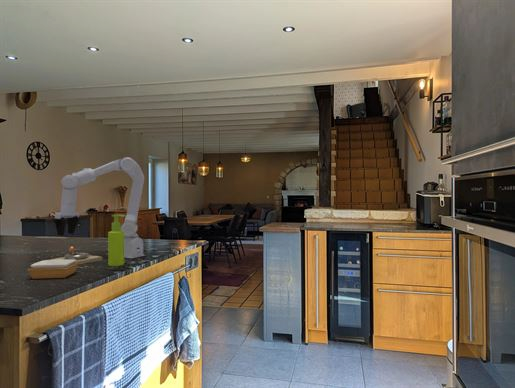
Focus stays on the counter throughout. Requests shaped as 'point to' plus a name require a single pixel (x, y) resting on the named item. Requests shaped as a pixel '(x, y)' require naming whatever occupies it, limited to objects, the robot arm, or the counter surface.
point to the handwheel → (75, 254)
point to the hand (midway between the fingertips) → (65, 234)
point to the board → (84, 260)
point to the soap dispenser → (116, 243)
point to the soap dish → (53, 269)
